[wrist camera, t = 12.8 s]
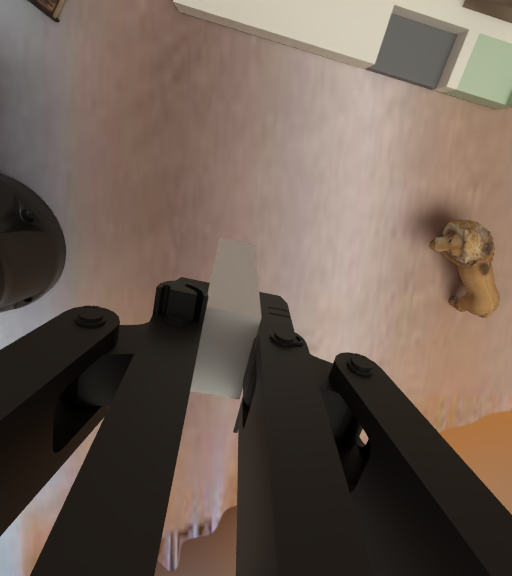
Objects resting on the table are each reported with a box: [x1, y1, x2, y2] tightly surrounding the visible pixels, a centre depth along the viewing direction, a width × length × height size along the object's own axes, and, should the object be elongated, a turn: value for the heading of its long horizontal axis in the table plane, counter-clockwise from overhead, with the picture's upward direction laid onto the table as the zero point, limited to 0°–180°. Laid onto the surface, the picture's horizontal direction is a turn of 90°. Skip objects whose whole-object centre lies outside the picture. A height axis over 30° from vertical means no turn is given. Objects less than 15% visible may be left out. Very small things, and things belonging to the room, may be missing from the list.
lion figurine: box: [430, 220, 500, 318], centre depth 40 cm, size 15×5×9 cm, turn 35°
